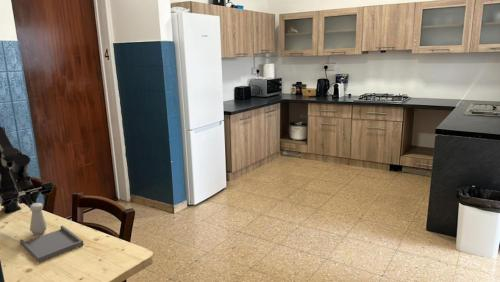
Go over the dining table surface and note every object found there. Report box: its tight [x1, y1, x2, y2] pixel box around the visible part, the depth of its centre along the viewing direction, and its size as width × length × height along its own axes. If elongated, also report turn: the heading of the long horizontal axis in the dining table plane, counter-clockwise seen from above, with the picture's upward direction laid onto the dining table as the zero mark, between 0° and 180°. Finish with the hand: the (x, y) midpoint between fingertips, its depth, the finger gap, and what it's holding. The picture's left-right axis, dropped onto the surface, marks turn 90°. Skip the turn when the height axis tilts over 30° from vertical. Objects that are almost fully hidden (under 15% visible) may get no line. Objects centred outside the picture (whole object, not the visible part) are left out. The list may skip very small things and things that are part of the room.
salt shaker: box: [29, 202, 47, 237], centre depth 145 cm, size 6×6×13 cm
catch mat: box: [19, 225, 84, 264], centre depth 139 cm, size 19×16×2 cm
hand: (35, 211), depth 145 cm, fingers closed
